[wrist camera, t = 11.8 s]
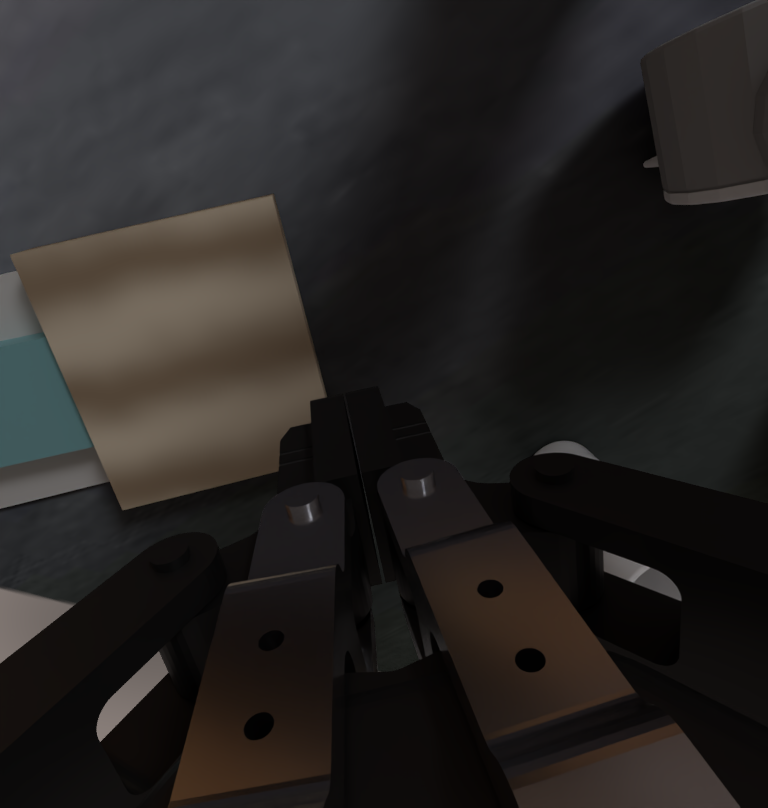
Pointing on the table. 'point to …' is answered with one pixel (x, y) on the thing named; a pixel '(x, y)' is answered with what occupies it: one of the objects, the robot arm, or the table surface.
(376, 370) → the table surface
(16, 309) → the mat
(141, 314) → the tan wooden board
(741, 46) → the alarm clock
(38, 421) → the tile
